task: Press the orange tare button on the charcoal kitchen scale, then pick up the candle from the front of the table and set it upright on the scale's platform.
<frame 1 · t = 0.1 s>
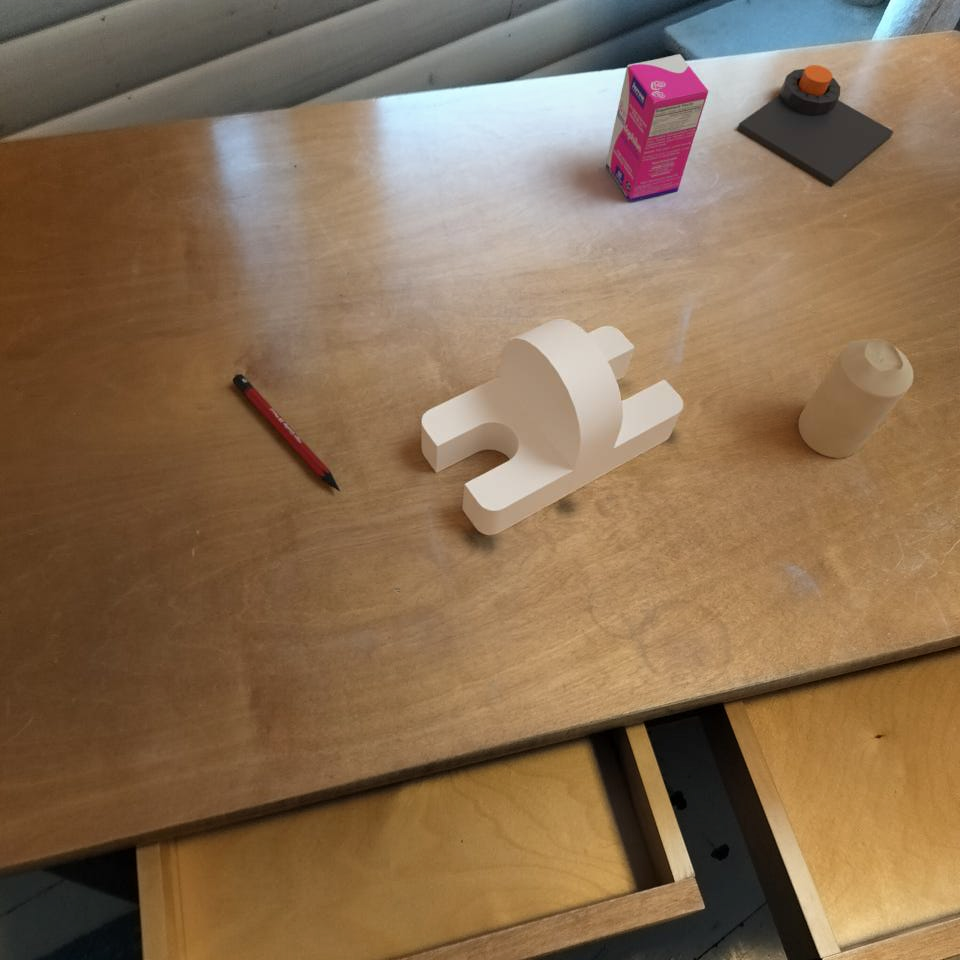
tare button: (815, 80, 92), point 3 cm above the table, slide at 0.1 cm
bracket: (548, 440, 69), on the table
pencil: (288, 438, 68), on the table
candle: (829, 432, 71), on the table
supplement box: (640, 181, 86), on the table
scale: (813, 134, 92), on the table
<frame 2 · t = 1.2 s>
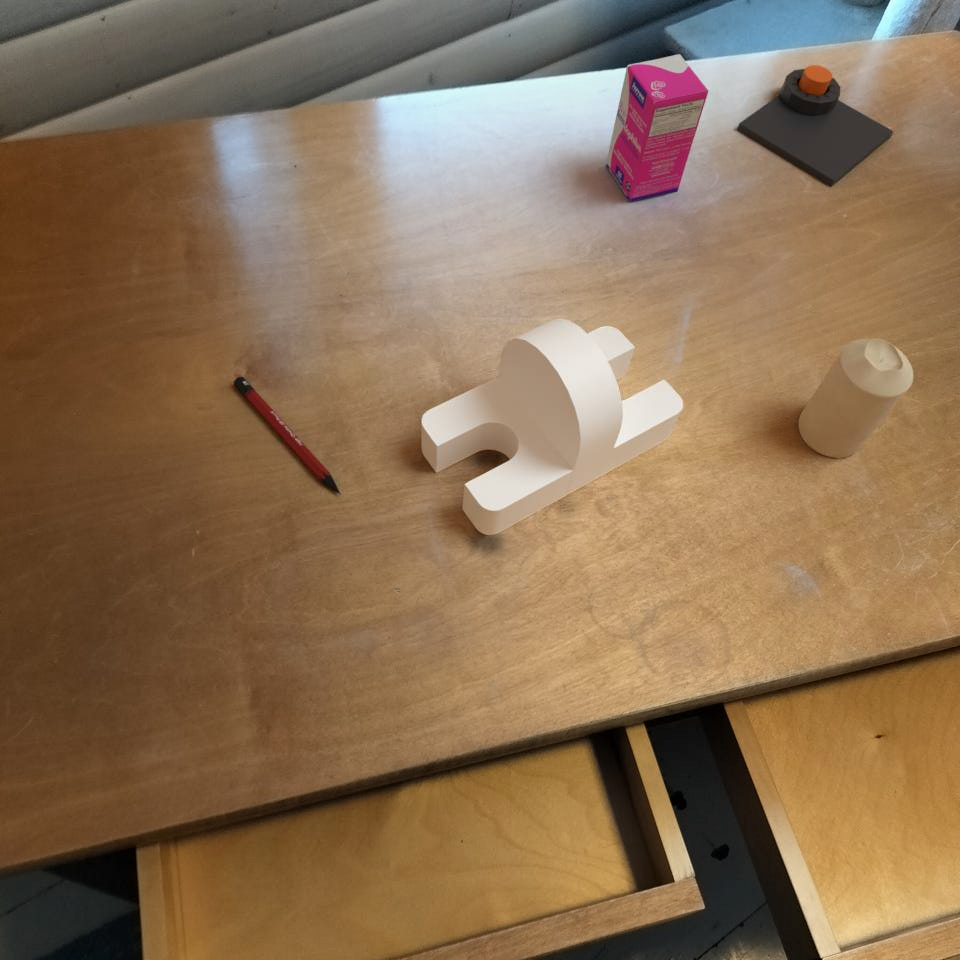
nothing on the table moved.
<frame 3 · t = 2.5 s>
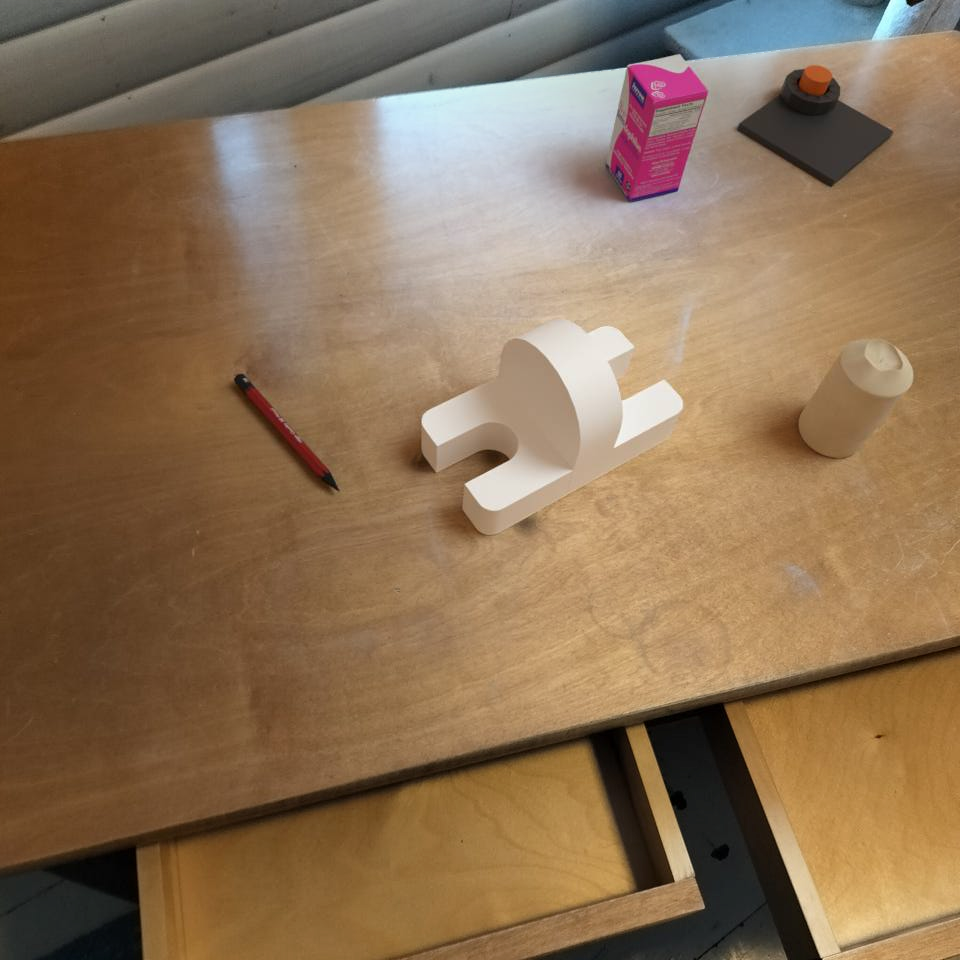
nothing on the table moved.
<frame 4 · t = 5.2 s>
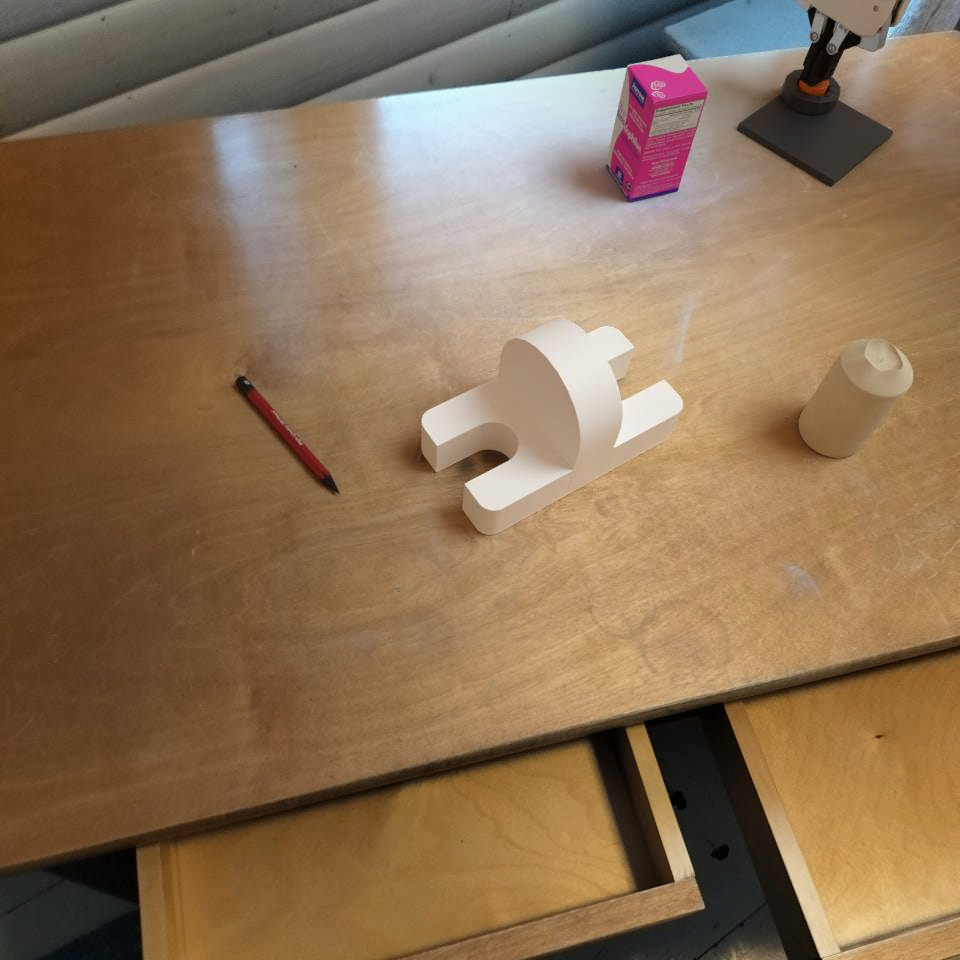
hand: (813, 79, 92), 3 cm above the table, tool pointing down, fingers closed
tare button: (812, 87, 92), point 2 cm above the table, slide at -0.7 cm, touching gripper
everything else where it was.
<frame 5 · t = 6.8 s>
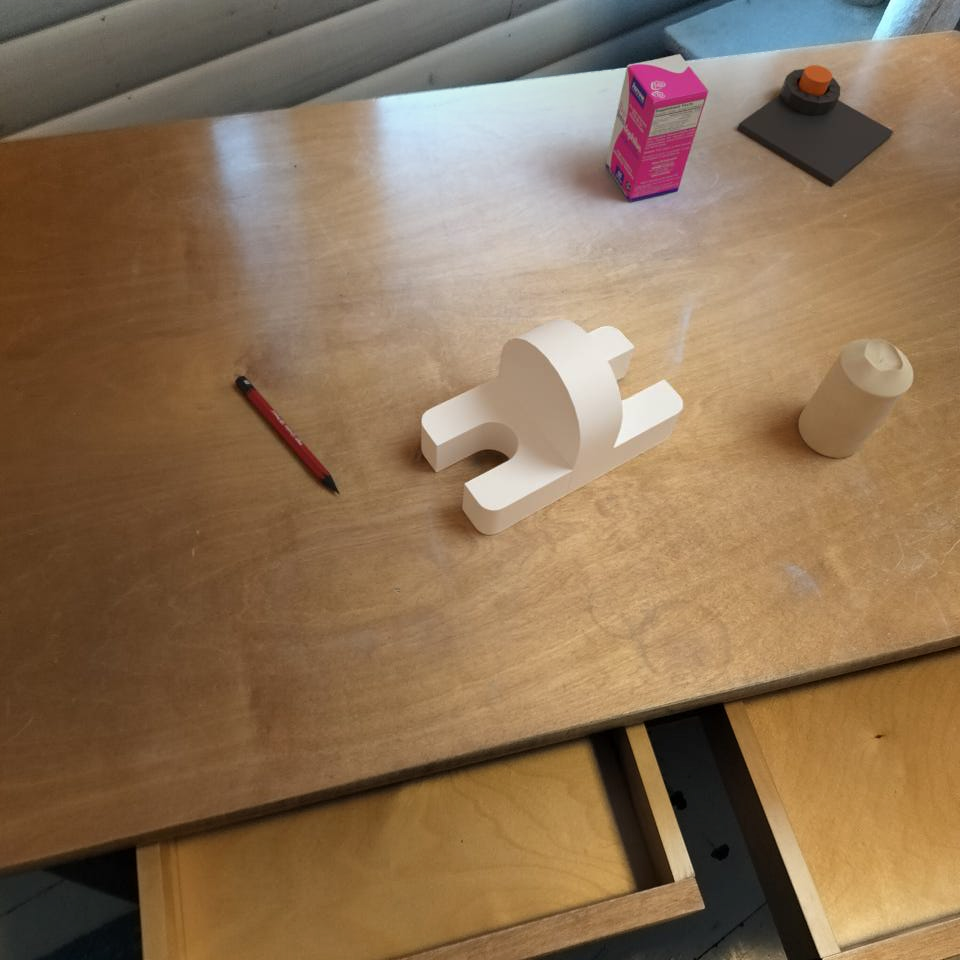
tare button: (815, 80, 92), point 3 cm above the table, slide at 0.1 cm
everything else where it was.
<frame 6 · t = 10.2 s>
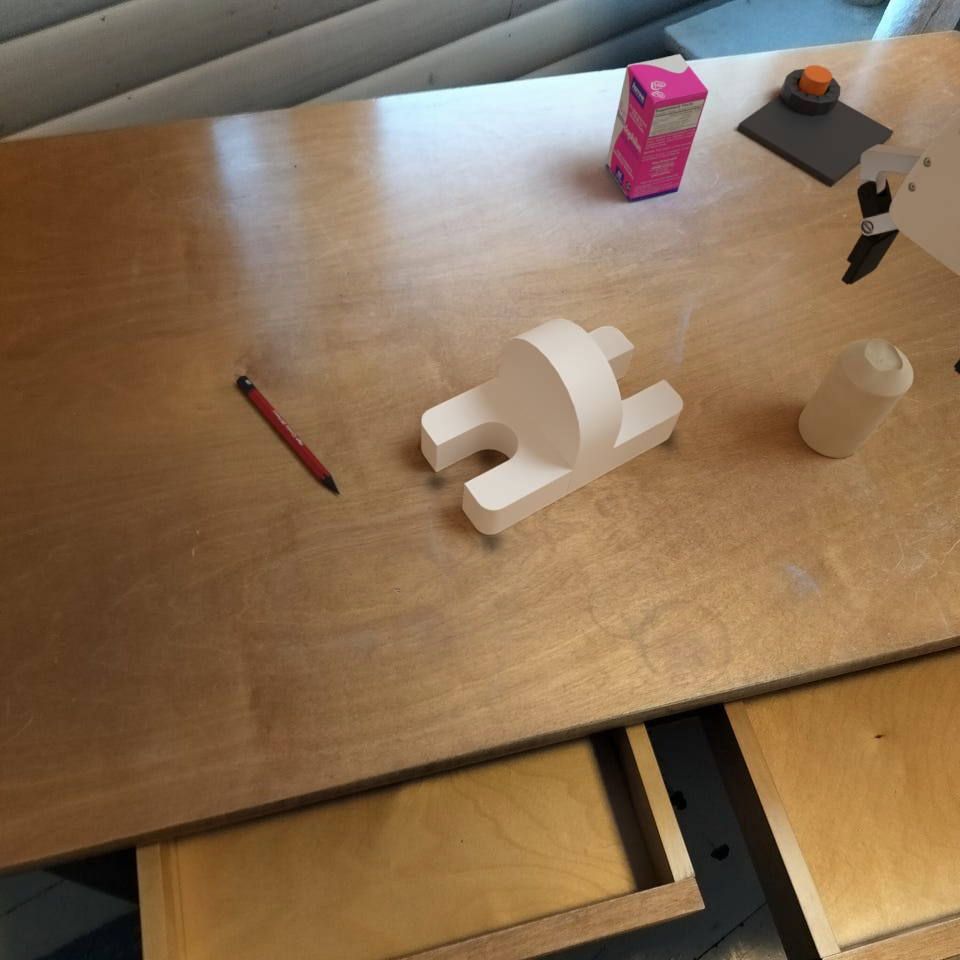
hand: (911, 318, 59), 14 cm above the table, tool pointing down, fingers open, 9 cm apart
nothing on the table moved.
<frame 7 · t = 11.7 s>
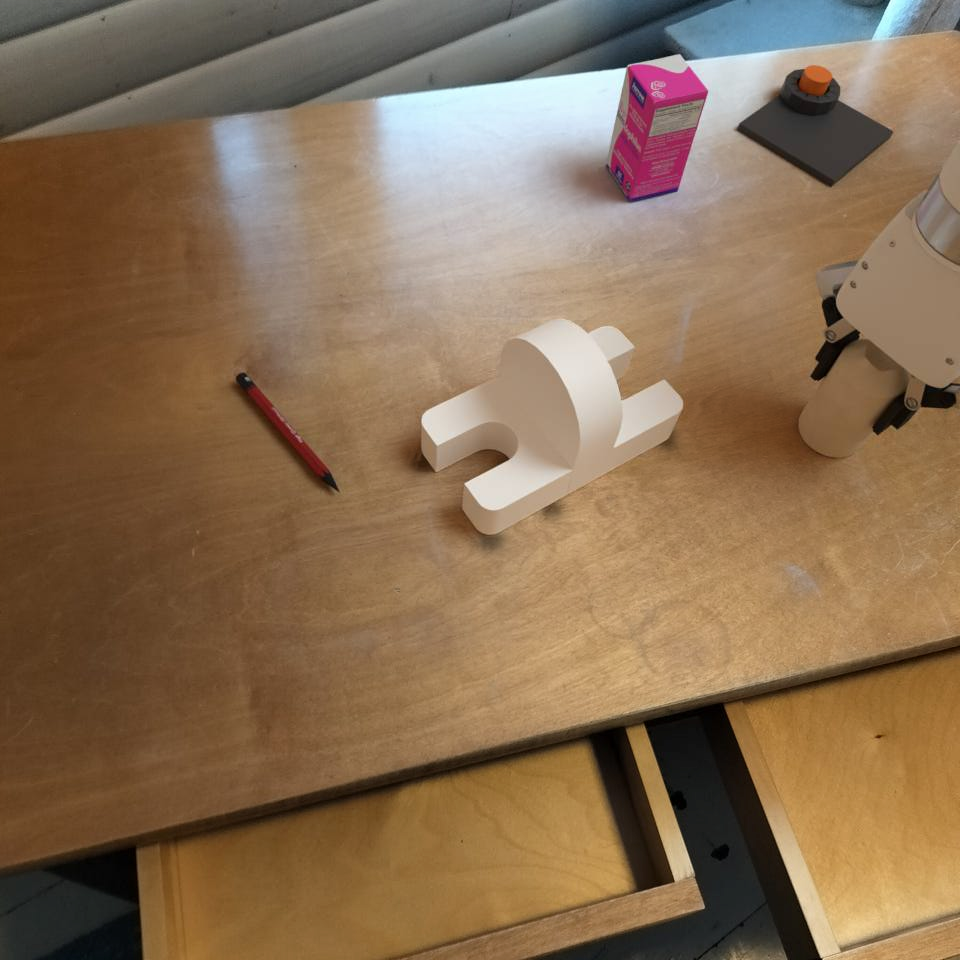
hand: (855, 396, 67), 5 cm above the table, tool pointing down, fingers closed on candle, 5 cm apart
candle: (828, 432, 71), on the table, touching gripper
everything else where it was.
when the fingers open (6 cm above the table, at t = 19.9 s): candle stays where it is, resting on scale.
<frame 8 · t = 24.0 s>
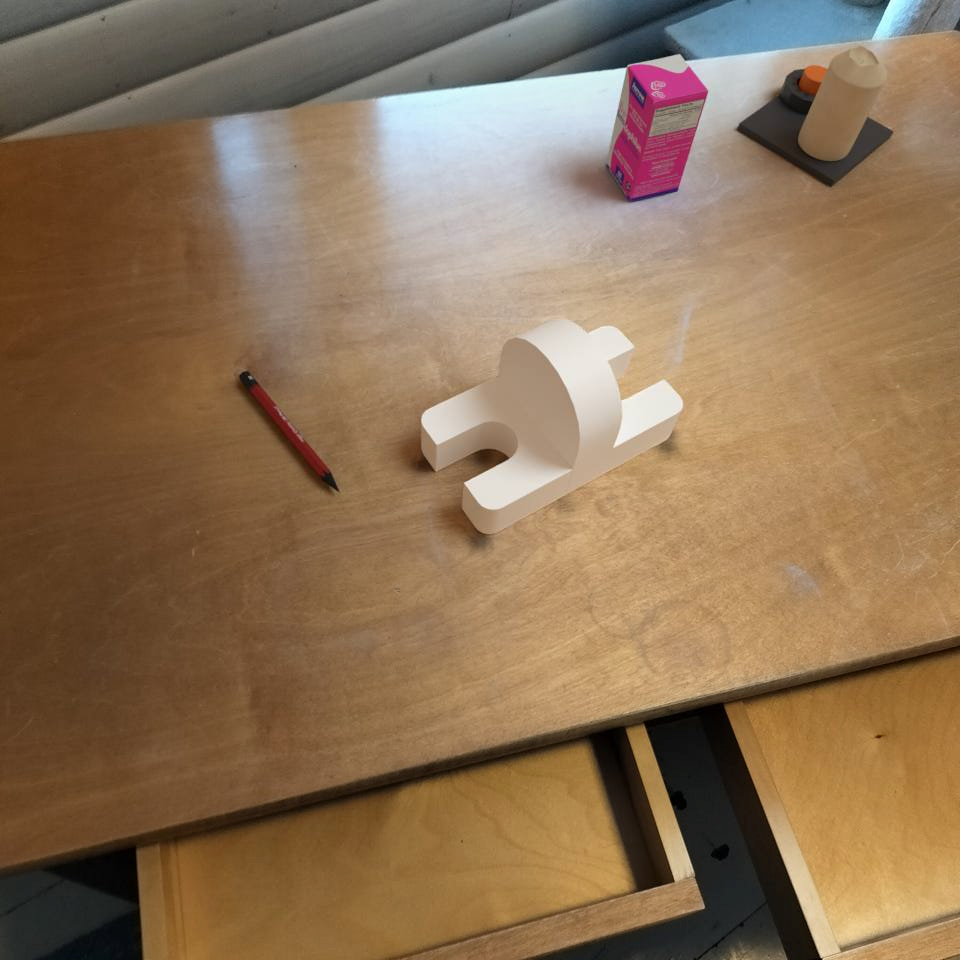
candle: (822, 146, 90), point 1 cm above the table, touching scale
everything else where it was.
at the end: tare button pushed in 0.9 cm at the most during the clip, back to where it started at the end; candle inside the target area on the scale (0.4 cm from its centre), point 0.7 cm above the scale's base; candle touching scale; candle tilted 0° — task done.
